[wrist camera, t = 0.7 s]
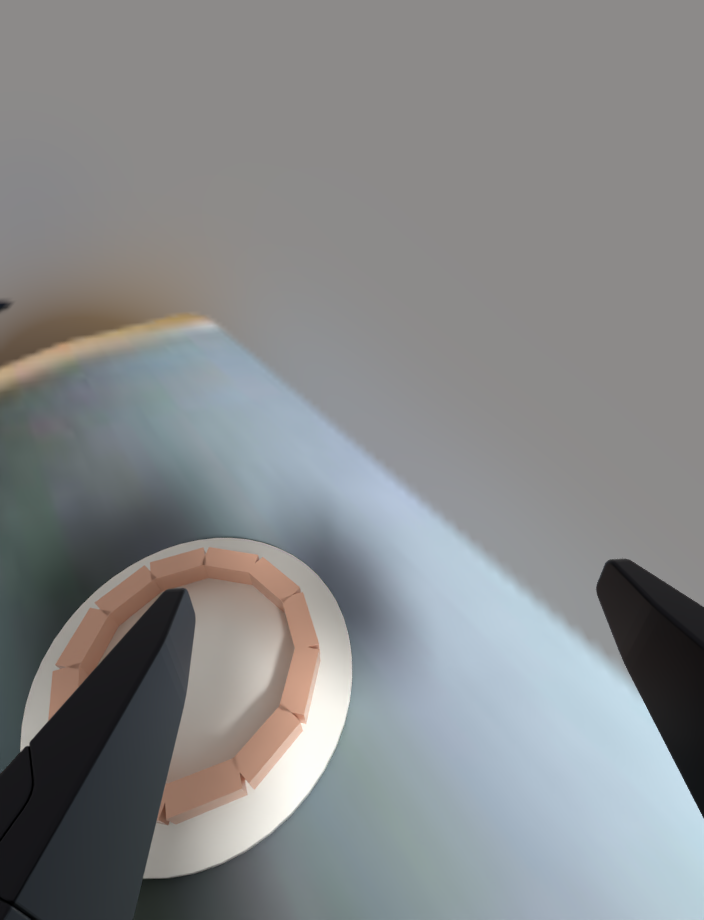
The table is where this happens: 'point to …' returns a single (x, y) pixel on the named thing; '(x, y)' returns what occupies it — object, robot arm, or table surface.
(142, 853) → the robot arm
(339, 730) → the white orange plate
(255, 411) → the table surface
